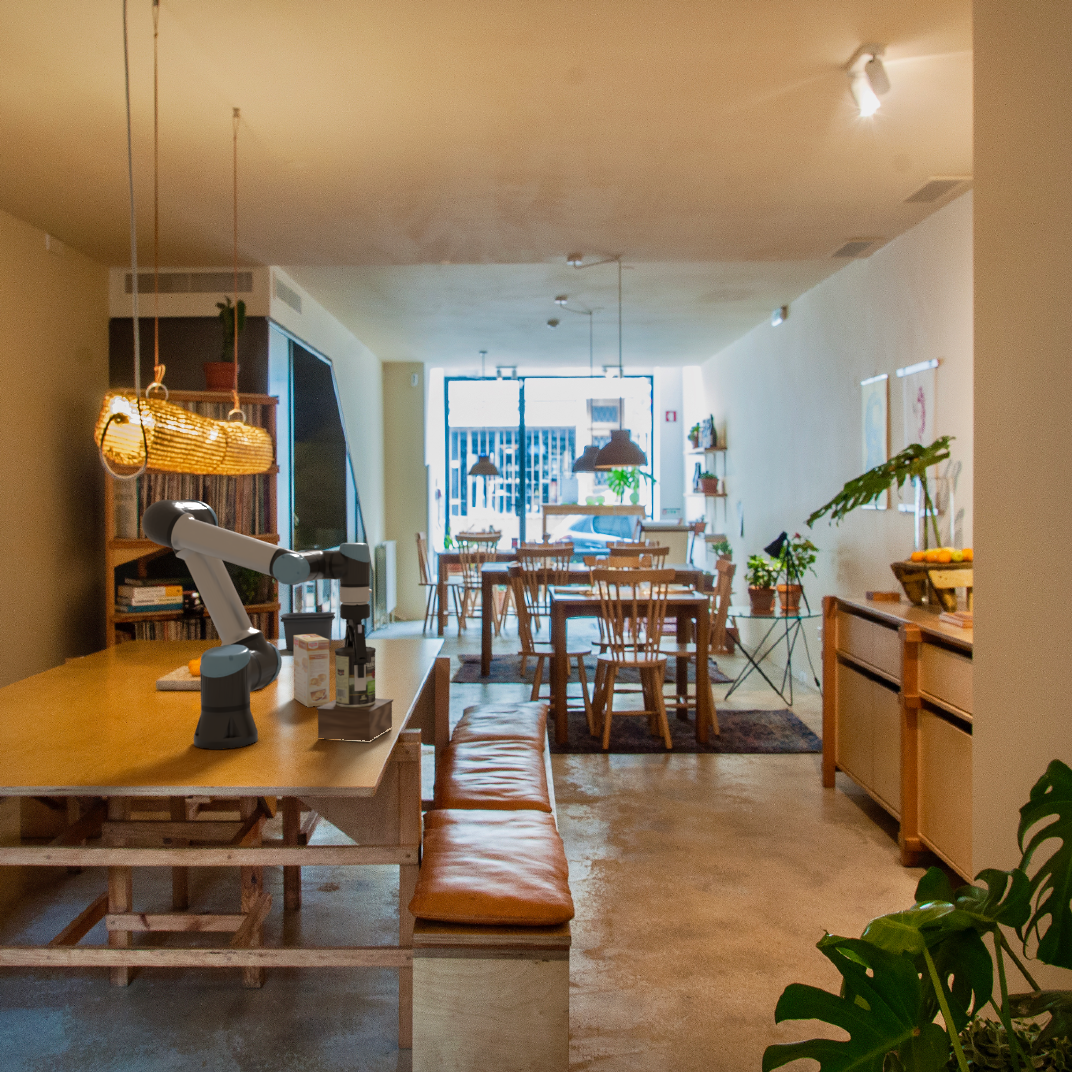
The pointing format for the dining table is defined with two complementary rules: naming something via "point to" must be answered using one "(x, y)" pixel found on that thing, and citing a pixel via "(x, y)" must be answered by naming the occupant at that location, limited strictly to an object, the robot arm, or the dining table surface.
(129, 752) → the dining table surface
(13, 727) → the dining table surface
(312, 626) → the storage bin
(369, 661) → the coffee can
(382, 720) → the walnut box
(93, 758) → the dining table surface
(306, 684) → the coffeecake box
